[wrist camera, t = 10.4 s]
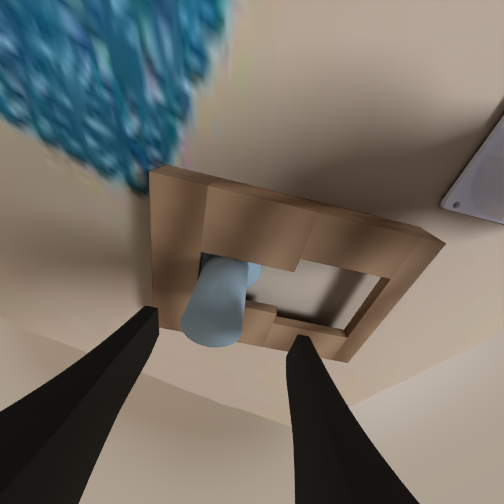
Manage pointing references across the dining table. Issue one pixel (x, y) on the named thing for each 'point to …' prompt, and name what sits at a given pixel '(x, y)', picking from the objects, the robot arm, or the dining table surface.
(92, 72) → the dining table surface
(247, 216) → the keyhole bridge
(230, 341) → the footed peg
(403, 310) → the dining table surface
